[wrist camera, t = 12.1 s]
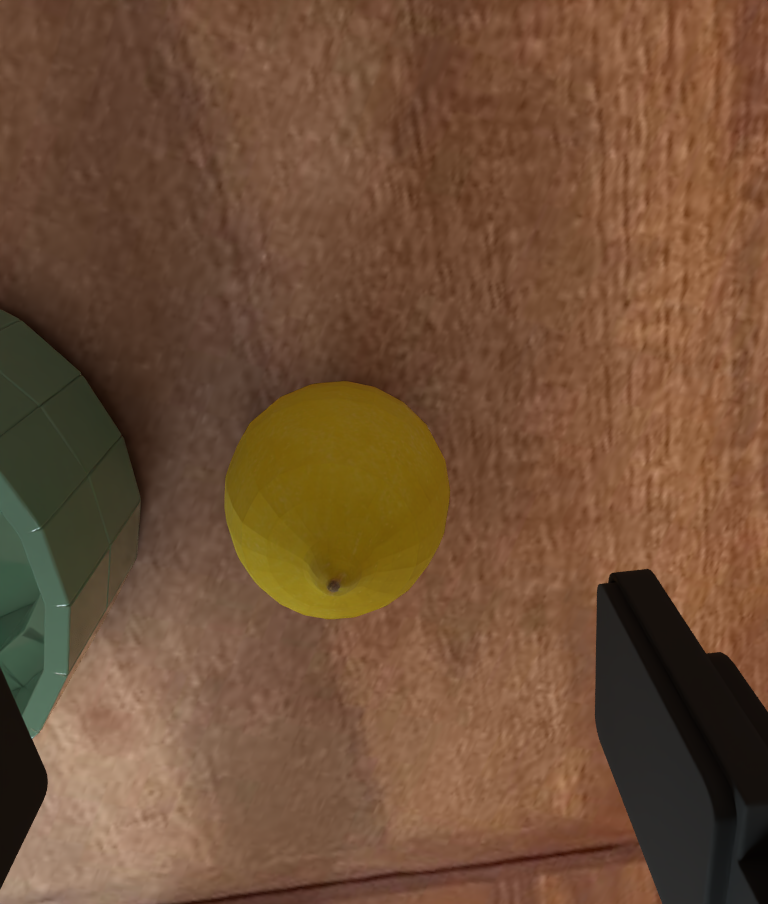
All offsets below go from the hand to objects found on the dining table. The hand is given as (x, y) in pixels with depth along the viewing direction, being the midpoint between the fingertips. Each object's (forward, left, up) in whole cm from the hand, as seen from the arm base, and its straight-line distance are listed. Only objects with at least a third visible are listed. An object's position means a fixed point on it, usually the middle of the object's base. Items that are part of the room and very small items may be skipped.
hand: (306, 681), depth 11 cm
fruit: (0, 0, -11) cm, 11 cm away
